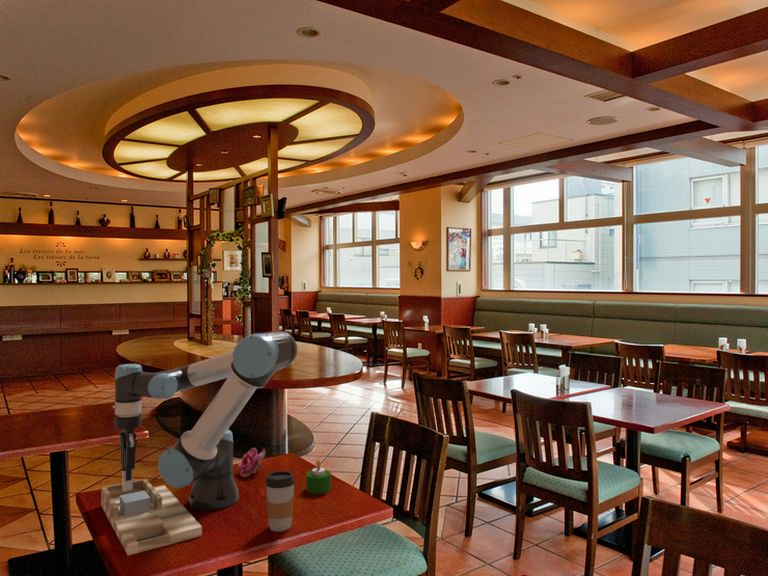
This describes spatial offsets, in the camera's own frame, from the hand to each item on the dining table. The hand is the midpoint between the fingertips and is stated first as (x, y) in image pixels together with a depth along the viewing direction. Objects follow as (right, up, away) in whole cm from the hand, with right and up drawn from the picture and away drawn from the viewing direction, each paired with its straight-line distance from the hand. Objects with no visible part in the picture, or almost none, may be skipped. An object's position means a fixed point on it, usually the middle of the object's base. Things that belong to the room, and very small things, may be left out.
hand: (127, 489), depth 171 cm
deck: (+10, -6, -8) cm, 14 cm away
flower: (+31, -6, +32) cm, 45 cm away
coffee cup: (+50, -6, -13) cm, 52 cm away
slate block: (+6, -3, -7) cm, 10 cm away
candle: (+58, -6, +16) cm, 60 cm away
